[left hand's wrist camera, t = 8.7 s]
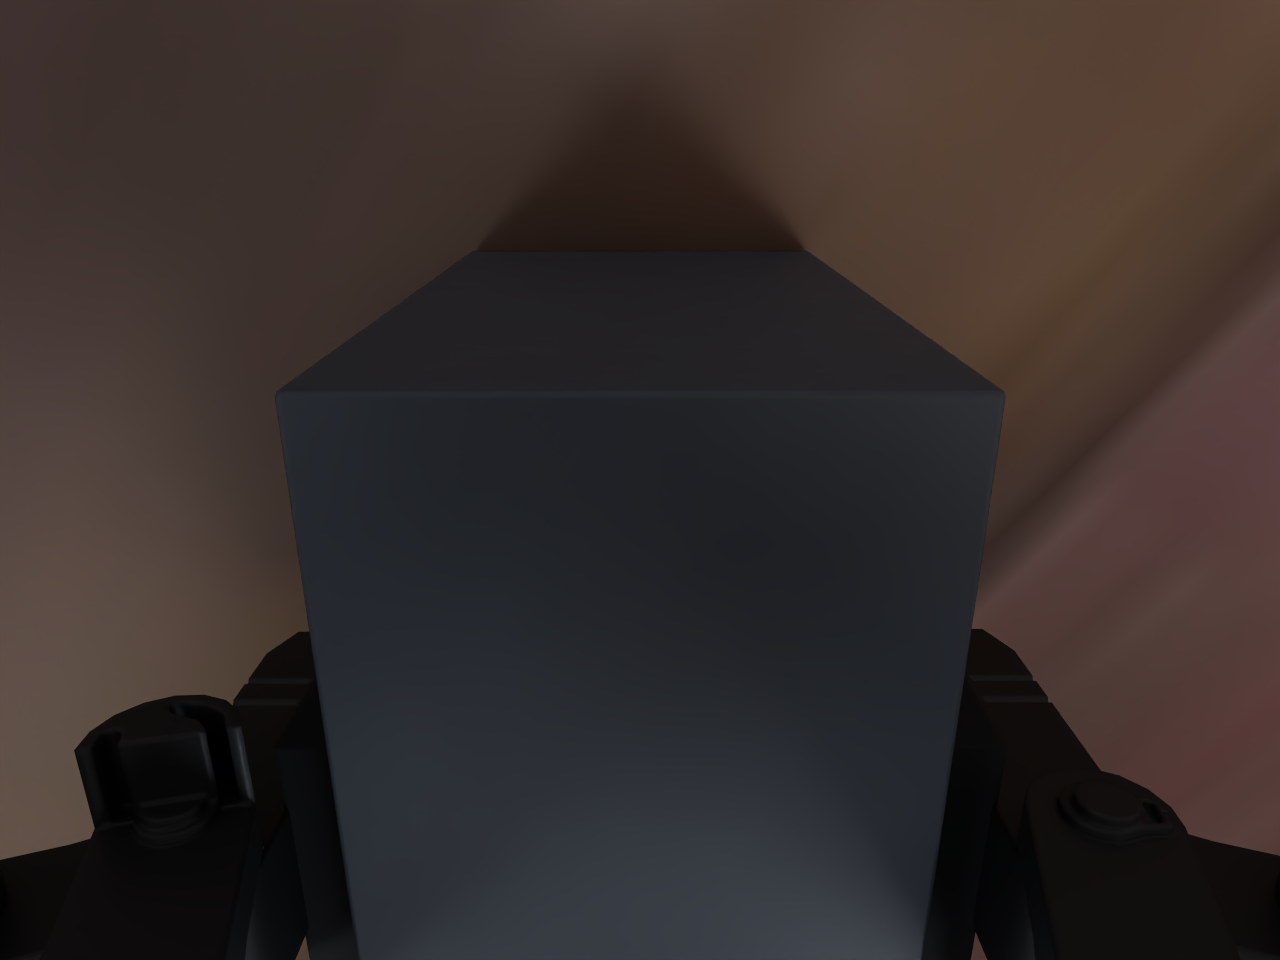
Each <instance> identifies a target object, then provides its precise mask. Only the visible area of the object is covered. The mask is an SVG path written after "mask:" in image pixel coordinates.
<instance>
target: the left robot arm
mask: <svg viewBox="0 0 1280 960" xmlns="http://www.w3.org/2000/svg"><path fill="white" fill-rule="evenodd" d="M1032 677H1033V676H1032V675H1031V673H1030V672H1029V670H1028V669H1027V668H1026V666H1025V665H1024V663H1023V662H1022V661H1021V659H1020V658H1019V657H1018V655H1017V654H1016V652H1015V651H1014V650H1012V649H1011V648H1010V647H1008V646H1007V645H1005V644H1004V643H1002V642H1001V641H999V640H998V639H996V638H995V637H993V636H992V635H990V634H989V633H987V632H986V631H984V630H983V629H971V635H970V642H969V648H968V655H967V662H966V669H965V676H964V682H963V689H962V696H961V703H960V710H959V716H958V723H957V730H956V737H955V744H954V750H953V757H952V764H951V771H950V778H949V784H948V791H947V798H946V805H945V812H944V818H943V825H942V832H941V839H940V846H939V852H938V859H937V866H936V873H935V880H934V886H933V893H932V900H931V907H930V913H929V920H928V927H927V934H926V941H925V947H924V954H923V960H971V955H972V949H973V943H974V937H975V931H976V934H977V936H978V939H979V941H980V943H981V946H982V948H983V951H984V953H985V955H986V958H987V960H1280V856H1278V855H1273V854H1269V853H1264V852H1260V851H1255V850H1250V849H1246V848H1241V847H1237V846H1232V845H1227V844H1223V843H1218V842H1214V841H1210V840H1207V839H1203V838H1200V837H1196V836H1193V835H1189V834H1188V833H1187V830H1186V828H1185V826H1184V825H1183V823H1182V822H1181V821H1180V819H1179V818H1178V816H1177V815H1176V813H1175V812H1174V811H1173V809H1172V808H1171V807H1170V806H1169V805H1168V804H1166V803H1165V802H1164V801H1162V800H1161V799H1160V798H1159V797H1157V796H1156V795H1155V794H1153V793H1152V792H1151V791H1149V790H1148V789H1146V788H1144V787H1142V786H1140V785H1138V784H1136V783H1134V782H1132V781H1130V780H1127V779H1125V778H1123V777H1121V776H1119V775H1115V774H1111V773H1107V772H1103V771H1101V770H1100V769H1099V768H1098V766H1097V765H1096V764H1095V762H1094V761H1093V759H1092V758H1091V757H1090V755H1089V754H1088V752H1087V751H1086V750H1085V748H1084V747H1083V745H1082V744H1081V743H1080V741H1079V740H1078V739H1077V737H1076V736H1075V734H1074V733H1073V732H1072V730H1071V729H1070V727H1069V726H1068V725H1067V723H1066V722H1065V720H1064V719H1063V718H1062V716H1061V715H1060V714H1059V712H1058V711H1057V709H1056V708H1055V707H1054V705H1053V704H1052V703H1048V697H1047V695H1046V694H1045V693H1044V691H1043V690H1042V688H1041V687H1040V686H1039V684H1038V683H1037V682H1036V681H1033V679H1032ZM74 752H75V755H76V759H77V763H78V767H79V771H80V774H81V778H82V782H83V786H84V789H85V793H86V797H87V801H88V804H89V808H90V812H91V816H92V819H93V823H94V827H95V829H94V832H93V834H92V837H91V839H88V840H84V841H81V842H77V843H74V844H70V845H66V846H62V847H57V848H53V849H48V850H44V851H39V852H34V853H30V854H25V855H21V856H16V857H12V858H7V859H2V860H0V960H295V959H296V957H297V954H298V952H299V949H300V947H301V945H302V942H303V940H304V937H305V935H306V940H307V945H308V951H309V957H310V960H358V958H357V951H356V944H355V937H354V930H353V924H352V917H351V910H350V903H349V897H348V890H347V883H346V876H345V869H344V863H343V856H342V849H341V842H340V835H339V829H338V822H337V815H336V808H335V801H334V795H333V788H332V781H331V774H330V767H329V761H328V754H327V747H326V740H325V734H324V727H323V720H322V713H321V706H320V700H319V693H318V686H317V679H316V672H315V666H314V659H313V652H312V645H311V638H310V632H298V633H296V634H295V635H293V636H292V637H291V638H289V639H288V640H286V641H285V642H283V643H282V644H280V645H279V646H277V647H276V648H274V649H273V650H271V651H270V652H269V653H267V654H266V656H265V657H264V658H263V660H262V661H261V663H260V664H259V665H258V667H257V668H256V670H255V671H254V672H253V674H252V675H251V677H250V678H249V683H248V684H245V685H244V686H243V688H242V689H241V690H240V692H239V693H238V695H237V696H236V697H235V699H234V703H233V705H231V704H230V703H229V702H228V701H227V700H223V699H219V698H215V697H211V696H207V695H182V696H172V697H168V698H163V699H159V700H154V701H150V702H145V703H143V704H140V705H138V706H135V707H133V708H131V709H128V710H126V711H123V712H121V713H119V714H116V715H114V716H112V717H111V718H109V719H108V720H107V721H105V722H104V723H102V724H101V725H99V726H98V727H96V728H95V729H93V730H92V731H90V732H89V733H88V734H87V736H86V737H85V738H84V739H83V740H82V742H81V743H80V744H79V745H78V747H77V748H76V749H75V750H74Z"/></svg>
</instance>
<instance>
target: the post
mask: <svg viewBox="0 0 1280 960" xmlns="http://www.w3.org/2000/svg"><path fill="white" fill-rule="evenodd" d="M275 401H276V407H277V414H278V421H279V428H280V435H281V441H282V448H283V455H284V462H285V469H286V475H287V482H288V489H289V496H290V503H291V509H292V516H293V523H294V530H295V537H296V543H297V550H298V557H299V564H300V571H301V577H302V584H303V591H304V598H305V604H306V611H307V618H308V625H309V632H310V638H311V645H312V652H313V659H314V666H315V672H316V679H317V686H318V693H319V700H320V706H321V713H322V720H323V727H324V734H325V740H326V747H327V754H328V761H329V767H330V774H331V781H332V788H333V795H334V801H335V808H336V815H337V822H338V829H339V835H340V842H341V849H342V856H343V863H344V869H345V876H346V883H347V890H348V897H349V903H350V910H351V917H352V924H353V930H354V937H355V944H356V951H357V958H358V960H923V954H924V947H925V941H926V934H927V927H928V920H929V913H930V907H931V900H932V893H933V886H934V880H935V873H936V866H937V859H938V852H939V846H940V839H941V832H942V825H943V818H944V812H945V805H946V798H947V791H948V784H949V778H950V771H951V764H952V757H953V750H954V744H955V737H956V730H957V723H958V716H959V710H960V703H961V696H962V689H963V682H964V676H965V669H966V662H967V655H968V648H969V642H970V635H971V628H972V621H973V615H974V608H975V601H976V594H977V587H978V581H979V574H980V567H981V560H982V553H983V547H984V540H985V533H986V526H987V519H988V513H989V506H990V499H991V492H992V485H993V479H994V472H995V465H996V458H997V451H998V445H999V438H1000V431H1001V424H1002V417H1003V411H1004V404H1005V394H1004V391H1003V390H1001V389H1000V388H998V387H997V386H996V385H994V384H993V383H991V382H990V381H989V380H987V379H986V378H984V377H983V376H982V375H980V374H979V373H977V372H976V371H975V370H973V369H972V368H970V367H969V366H968V365H966V364H965V363H963V362H962V361H961V360H959V359H958V358H956V357H955V356H954V355H952V354H951V353H949V352H948V351H947V350H945V349H944V348H942V347H941V346H940V345H938V344H937V343H935V342H934V341H933V340H931V339H930V338H928V337H927V336H926V335H924V334H923V333H921V332H920V331H919V330H917V329H916V328H914V327H913V326H912V325H910V324H909V323H907V322H906V321H905V320H903V319H902V318H900V317H899V316H898V315H896V314H895V313H893V312H892V311H891V310H889V309H888V308H886V307H885V306H884V305H882V304H881V303H879V302H878V301H877V300H875V299H874V298H872V297H871V296H870V295H868V294H867V293H865V292H864V291H863V290H861V289H860V288H858V287H857V286H856V285H854V284H853V283H851V282H850V281H849V280H847V279H846V278H844V277H843V276H842V275H840V274H839V273H837V272H836V271H835V270H833V269H832V268H830V267H829V266H828V265H826V264H825V263H823V262H822V261H821V260H819V259H818V258H816V257H815V256H814V255H812V254H811V253H809V252H807V251H473V252H471V253H470V254H468V255H467V256H466V257H464V258H463V259H461V260H460V261H459V262H457V263H456V264H454V265H453V266H452V267H450V268H449V269H447V270H446V271H445V272H443V273H442V274H440V275H439V276H438V277H436V278H435V279H433V280H432V281H431V282H429V283H428V284H426V285H425V286H424V287H422V288H421V289H419V290H418V291H417V292H415V293H414V294H412V295H411V296H410V297H408V298H407V299H405V300H404V301H403V302H401V303H400V304H398V305H397V306H396V307H394V308H393V309H391V310H390V311H389V312H387V313H386V314H384V315H383V316H382V317H380V318H379V319H377V320H376V321H374V322H373V323H372V324H370V325H369V326H367V327H366V328H365V329H363V330H362V331H360V332H359V333H358V334H356V335H355V336H353V337H352V338H351V339H349V340H348V341H346V342H345V343H344V344H342V345H341V346H339V347H338V348H337V349H335V350H334V351H332V352H331V353H330V354H328V355H327V356H325V357H324V358H323V359H321V360H320V361H318V362H317V363H316V364H314V365H313V366H311V367H310V368H309V369H307V370H306V371H304V372H303V373H302V374H300V375H299V376H297V377H296V378H295V379H293V380H292V381H290V382H289V383H288V384H286V385H285V386H283V387H282V388H281V389H279V390H278V391H277V392H276V395H275Z"/></svg>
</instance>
